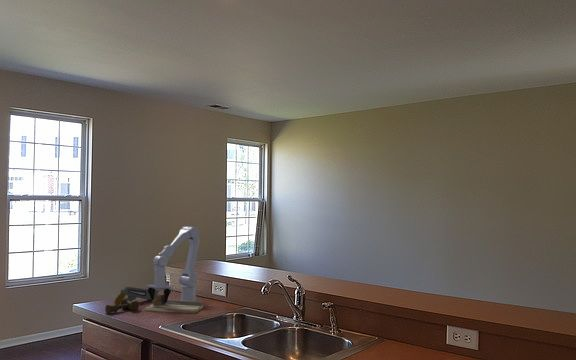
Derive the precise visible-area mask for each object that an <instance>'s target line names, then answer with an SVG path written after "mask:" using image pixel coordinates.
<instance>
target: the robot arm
mask: <svg viewBox="0 0 576 360" xmlns="http://www.w3.org/2000/svg"><path fill="white" fill-rule="evenodd" d="M200 232H201V231H200V229H199V228H198V227H197V226H188V225H184V226H182V227H181V229H179V233H178V234H177V235H176V237H174V239H173V241H172V242H171V244H167V245H165V246H163V249H162V251H160V252H159V253H158V255H156V256H154V258H153V260H152V264H153V266H154V281H153V283H154V284H146V289H148V293H149V295H150V297H151V300H150V302H151V303H153V302H152V300H154V295H155V289H157V290H163V294H164V303H166V302H167V300H169V296H170V294H171V292H172V290H173V285H170V284H169V285H168V284H166V266H167V265H168V262H169V259H170V258H171V257H172V256H173V255H174V254H175V252H176V250H175V249H176V248H177V247H178V246H179V245H180V244H182V242H183V241H184V240H188V243H189V248H188V253H187V257H186V264H185V268H184V269H183V271H182V272H181V275H180V276H179V279H178V283H179V285H180V287H181V288H180V289H181V291H180V293H181V296H180V297H181V298H180V300H182V301H198V299H197V295H196V294H197V293H196V292H197V289H196V287H195V286H196V285H197V282H198V280H197V276H198V275H197V273H196V272H195V271H196V269H195V268H196V264H197V258H198V253H199V248H200V244H201V238H200V234H201V233H200Z"/></svg>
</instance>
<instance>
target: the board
mask: <svg viewBox="0 0 576 360" xmlns="http://www.w3.org/2000/svg"><path fill="white" fill-rule="evenodd" d="M153 305H154V303H152V304H150V305H148V306H146V307H145V308H144V310H145V311H148V312H161V313H162V312H164V313H165V312H167V313H179V314H181V313H182V314H196V313H197V312H199V311H200V310H202V309H203V308H204V301H200V300H197V301H182V300H181V299H180V300H177V299H168V300H167V302H166V303H165V304H163V305H161V306H155V305H154V306H153Z"/></svg>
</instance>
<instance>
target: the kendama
mask: <svg viewBox="0 0 576 360" xmlns="http://www.w3.org/2000/svg"><path fill="white" fill-rule="evenodd" d="M140 304H141V302H140V301H138V300H133V301H132V302H131V301H130V299H129V298H128V297H124V299H123V300H122V301H121V303H120V305H116V304H115V303H114V304H111V305H110V304H106V306H105V308H104V309H105V314H106V315H111V314H112V313H117V312H118V311H119V310H125V309H129V310H130V311H131V312H136V311H138V310H139V307H140Z"/></svg>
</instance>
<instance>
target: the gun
mask: <svg viewBox="0 0 576 360" xmlns="http://www.w3.org/2000/svg"><path fill="white" fill-rule="evenodd" d="M159 290H160V289H155V295H156V294H159V292H160V291H159ZM126 296H127V298H129V299H130V302H133V301H136V300H137V298H139V299H143V300H149V301H151V297H150V295H149V293H148V289H147V288H143V287H135V286H127V285H126V286H124V288H123V289H120V294H118V295H117V296H116V298H115V300H114V304H116V305H121V301H122V300H123V299H124V298H126Z"/></svg>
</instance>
